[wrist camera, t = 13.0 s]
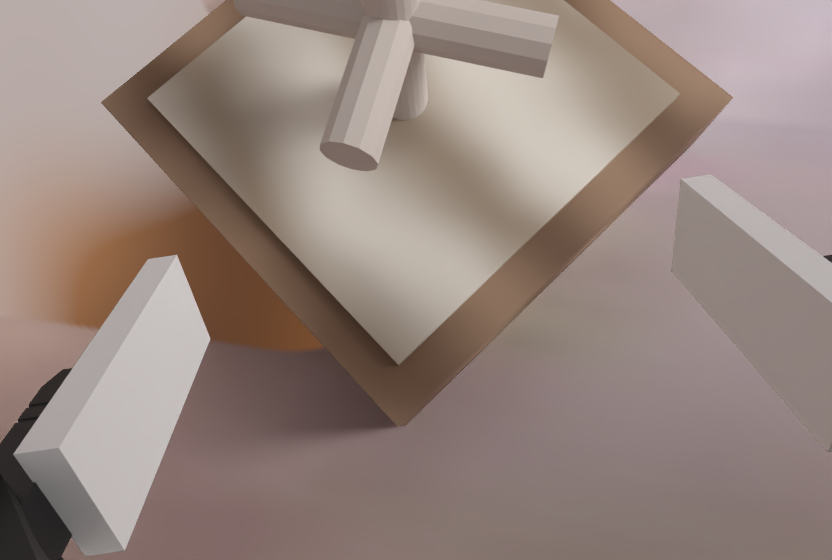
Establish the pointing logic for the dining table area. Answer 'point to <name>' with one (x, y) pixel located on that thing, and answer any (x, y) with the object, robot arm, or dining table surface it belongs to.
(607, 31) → the stand
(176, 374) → the robot arm
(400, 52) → the pipe connector
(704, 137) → the dining table surface
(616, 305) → the dining table surface
